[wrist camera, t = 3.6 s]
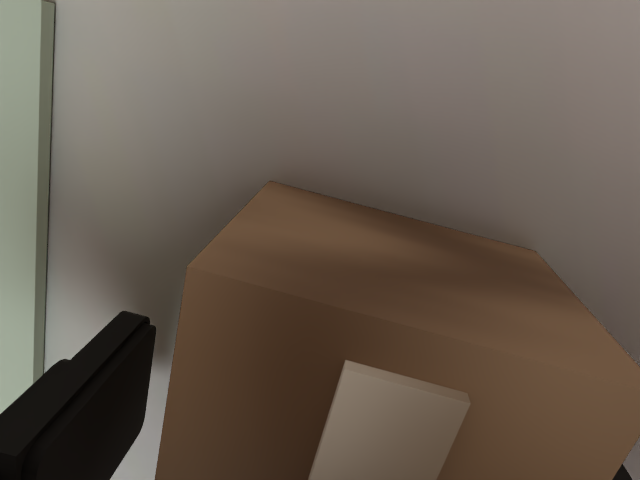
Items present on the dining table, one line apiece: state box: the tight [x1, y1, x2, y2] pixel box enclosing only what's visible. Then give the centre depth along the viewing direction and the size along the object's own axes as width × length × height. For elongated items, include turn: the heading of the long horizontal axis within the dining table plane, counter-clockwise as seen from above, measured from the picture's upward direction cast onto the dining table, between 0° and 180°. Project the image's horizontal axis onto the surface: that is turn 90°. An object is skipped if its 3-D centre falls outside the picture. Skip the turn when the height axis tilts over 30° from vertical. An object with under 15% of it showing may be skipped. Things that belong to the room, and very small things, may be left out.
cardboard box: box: [155, 181, 640, 480], centre depth 10 cm, size 6×9×5 cm, turn 166°
